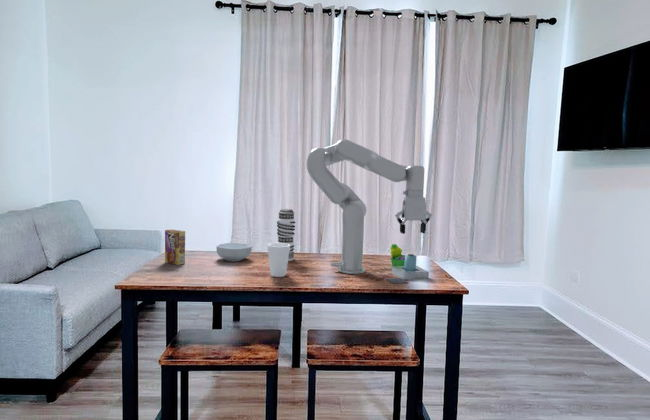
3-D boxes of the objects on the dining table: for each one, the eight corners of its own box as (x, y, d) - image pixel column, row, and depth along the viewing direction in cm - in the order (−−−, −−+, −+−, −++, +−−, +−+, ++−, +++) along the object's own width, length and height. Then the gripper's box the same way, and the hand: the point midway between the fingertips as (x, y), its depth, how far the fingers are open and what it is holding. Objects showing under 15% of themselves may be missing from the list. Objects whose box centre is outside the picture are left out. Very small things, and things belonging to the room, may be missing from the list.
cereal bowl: (257, 261, 211) (258, 246, 210) (226, 265, 201) (226, 250, 200) (241, 254, 224) (241, 241, 224) (210, 258, 214) (210, 244, 213)
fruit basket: (406, 271, 201) (407, 247, 200) (387, 269, 204) (388, 245, 203) (409, 266, 212) (410, 243, 211) (391, 264, 215) (392, 241, 214)
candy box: (185, 263, 201) (185, 230, 199) (178, 265, 197) (178, 231, 196) (171, 261, 205) (171, 228, 203) (164, 262, 201) (164, 229, 199)
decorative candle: (290, 256, 224) (291, 208, 221) (297, 260, 215) (298, 210, 213) (273, 257, 220) (274, 208, 217) (279, 261, 212) (281, 210, 209)
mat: (392, 284, 178) (392, 283, 178) (385, 279, 185) (385, 278, 185) (408, 283, 180) (408, 282, 180) (400, 278, 187) (400, 277, 187)
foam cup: (264, 272, 189) (265, 243, 188) (285, 271, 193) (285, 242, 191) (270, 278, 180) (271, 247, 179) (292, 276, 184) (292, 246, 183)
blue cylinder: (407, 277, 190) (408, 255, 189) (401, 274, 195) (403, 253, 194) (417, 276, 191) (418, 255, 190) (412, 274, 196) (413, 253, 195)
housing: (403, 279, 186) (403, 272, 185) (391, 272, 197) (391, 266, 197) (428, 278, 189) (428, 271, 189) (415, 271, 201) (415, 265, 200)
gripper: (400, 194, 183) (398, 234, 185) (436, 194, 188) (434, 234, 190) (392, 193, 190) (390, 232, 192) (427, 193, 195) (426, 231, 197)
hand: (412, 233), depth 191 cm, fingers open, 9 cm apart
